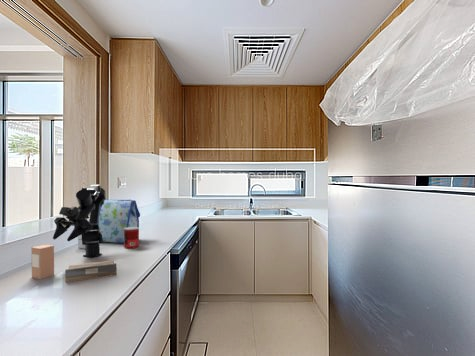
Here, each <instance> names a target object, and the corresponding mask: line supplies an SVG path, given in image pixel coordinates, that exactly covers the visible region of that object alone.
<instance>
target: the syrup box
mask: <svg viewBox="0 0 475 356" xmlns="http://www.w3.org/2000/svg"><path fill="white" fill-rule="evenodd" d="M77 248H78V249H85V245H82V235H80V236H78V237H77Z"/></svg>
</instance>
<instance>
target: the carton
mask: <svg viewBox="0 0 475 356" xmlns="http://www.w3.org/2000/svg"><path fill="white" fill-rule="evenodd" d="M54 275H55V245H52V244H51V245H50V244H42V245H36V246H32V247H31V278H33V279H38V280H41V279H42V280H43V279H46V278H49V277H52V276H54Z"/></svg>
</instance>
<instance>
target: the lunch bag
mask: <svg viewBox="0 0 475 356" xmlns="http://www.w3.org/2000/svg"><path fill="white" fill-rule="evenodd" d="M140 217H141V213H140V210H139V207H138V205H137V202H136V200H132V199H106V200H105V201H104V204H103V205H102V206H101V207H100V214H99V221H98V227H99V229H100V232H101V234H102V238H103V243H121V244H124V228H127V227H139V228H140Z"/></svg>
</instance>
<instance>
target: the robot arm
mask: <svg viewBox="0 0 475 356" xmlns="http://www.w3.org/2000/svg"><path fill="white" fill-rule="evenodd" d="M75 197H76V200H77V204H78V205H79V206H78V207H76V206H71V207H67V206H61V208H60V210H59V214H58V215H61V216H62V215H63V216H65V217H63V216H62V217H61V216H58V217H56V218H54V220H53V221H54V224H55V225H56V227H55V231H54V233H53V236H52V239H53V240H56V239H58V238H59V237H61V236H62V235H63V234H65V233H66V232H67V231H68V230H69V229H70V228H71V226H72V227H73V230H72V231H71V232H70V234H69V236H68V238H67V239H66V241H68V242H70V241H73V240H74V239H76V238H78V236H80V235H82V245H85V248H84V249H85V254H83V255H82V257H86V258H94V257H98V256H101V255H103V253H101V247H100V245H101V244H103V243H104V242H103V238H102V234H101V232H100V229H99V227H98V221H99V214H100V207H101V206H102V205H103V204H104V201H105V200H107V193H106V190H105V189H104V188H102V186H101V184H90V185H89V187H82V188H81V189H80V190H78V191H77V192H76V193H75Z"/></svg>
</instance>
